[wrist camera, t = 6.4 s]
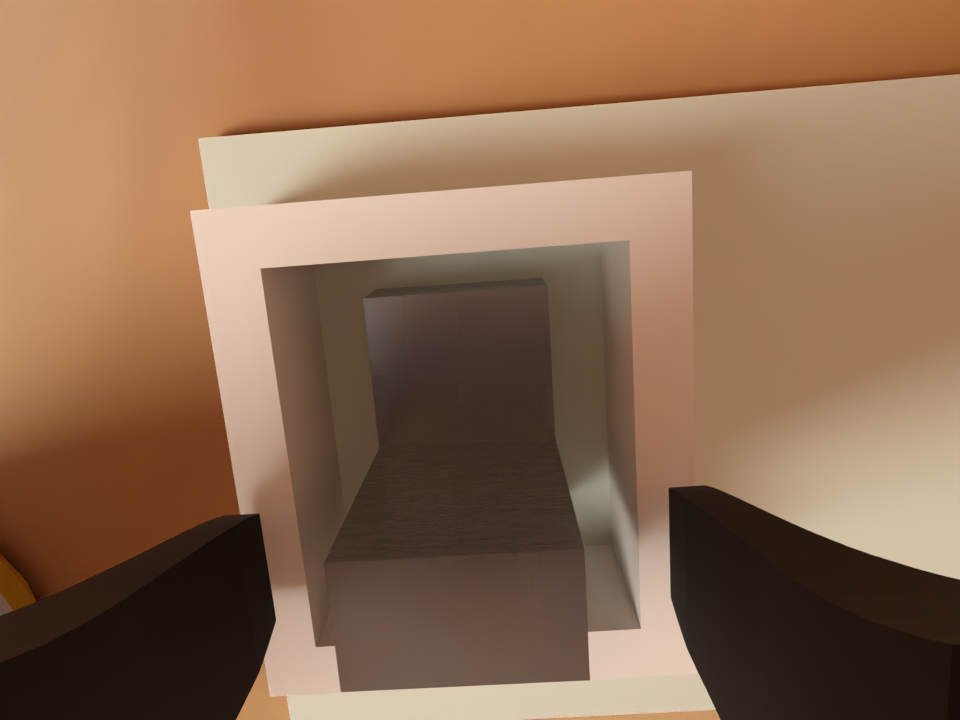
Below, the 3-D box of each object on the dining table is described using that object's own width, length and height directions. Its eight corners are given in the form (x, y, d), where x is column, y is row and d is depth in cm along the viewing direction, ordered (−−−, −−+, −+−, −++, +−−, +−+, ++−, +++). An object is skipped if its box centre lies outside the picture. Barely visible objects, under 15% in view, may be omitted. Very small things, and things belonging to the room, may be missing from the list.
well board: (1024, 676, 17) (1174, 809, 13) (299, 713, 17) (246, 850, 14) (1089, 67, 14) (1309, 14, 10) (210, 141, 14) (111, 118, 11)
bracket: (553, 500, 15) (589, 680, 10) (399, 509, 15) (340, 692, 10) (542, 277, 14) (574, 326, 8) (376, 289, 14) (294, 344, 9)
